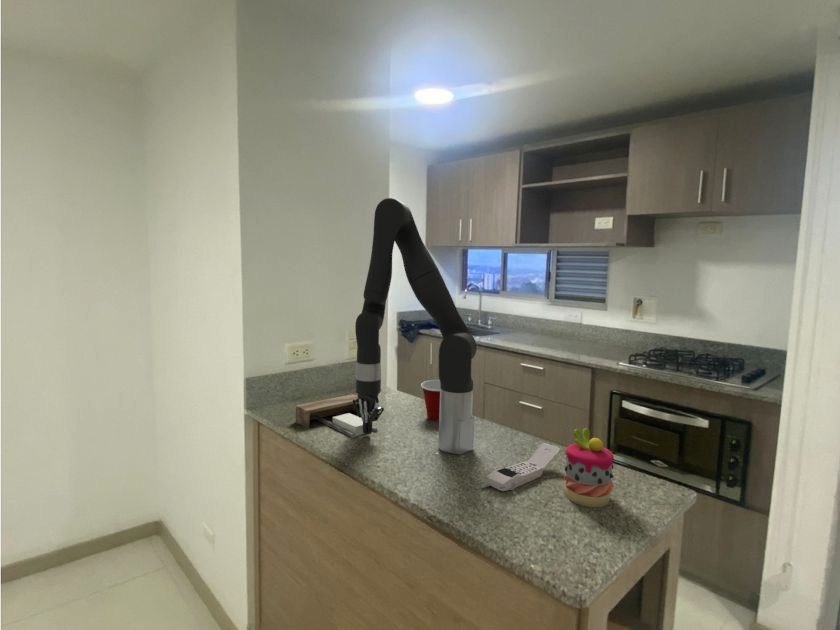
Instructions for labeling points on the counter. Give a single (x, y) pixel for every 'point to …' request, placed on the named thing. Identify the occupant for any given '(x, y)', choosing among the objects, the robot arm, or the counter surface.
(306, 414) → the overhang
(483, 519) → the counter surface
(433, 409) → the plastic cup
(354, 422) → the cream rectangular block
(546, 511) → the counter surface
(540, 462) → the mobile phone
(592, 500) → the cake
